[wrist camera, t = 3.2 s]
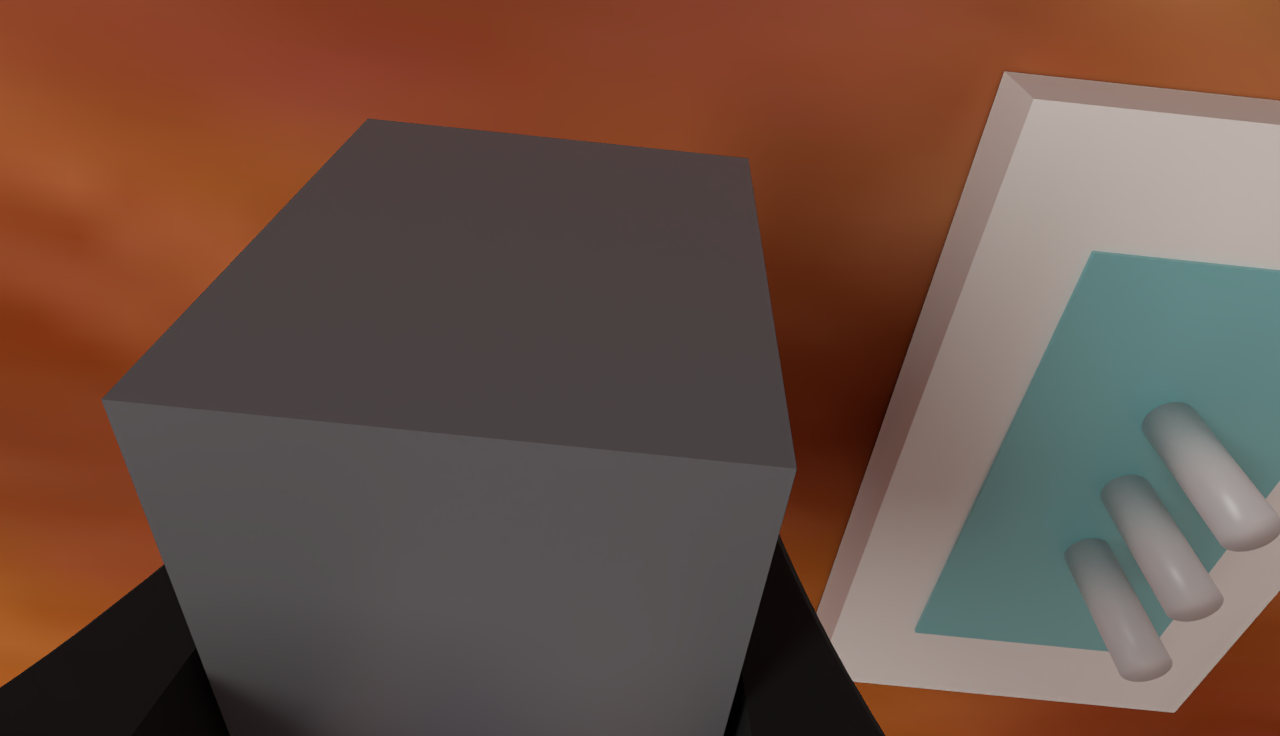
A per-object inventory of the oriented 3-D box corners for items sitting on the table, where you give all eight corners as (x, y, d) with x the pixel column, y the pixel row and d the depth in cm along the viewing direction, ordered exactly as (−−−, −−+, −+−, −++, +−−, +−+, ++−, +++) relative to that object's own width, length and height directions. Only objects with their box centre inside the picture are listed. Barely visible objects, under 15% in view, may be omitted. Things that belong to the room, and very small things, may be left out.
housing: (664, 635, 14) (654, 982, 10) (421, 612, 14) (312, 951, 10) (747, 157, 9) (796, 470, 5) (368, 119, 9) (101, 398, 5)
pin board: (1149, 664, 24) (1234, 829, 20) (810, 631, 24) (832, 791, 20) (1566, 131, 14) (1873, 256, 11) (1004, 71, 14) (1116, 176, 10)
